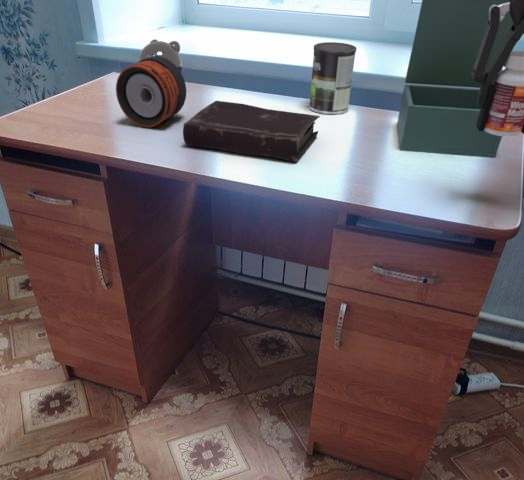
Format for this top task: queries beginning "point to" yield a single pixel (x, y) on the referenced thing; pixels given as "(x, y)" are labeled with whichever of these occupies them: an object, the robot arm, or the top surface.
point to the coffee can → (331, 77)
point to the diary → (251, 130)
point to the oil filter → (151, 91)
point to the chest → (443, 122)
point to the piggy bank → (163, 51)
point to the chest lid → (452, 41)
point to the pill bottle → (508, 98)
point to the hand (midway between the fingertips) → (501, 129)
